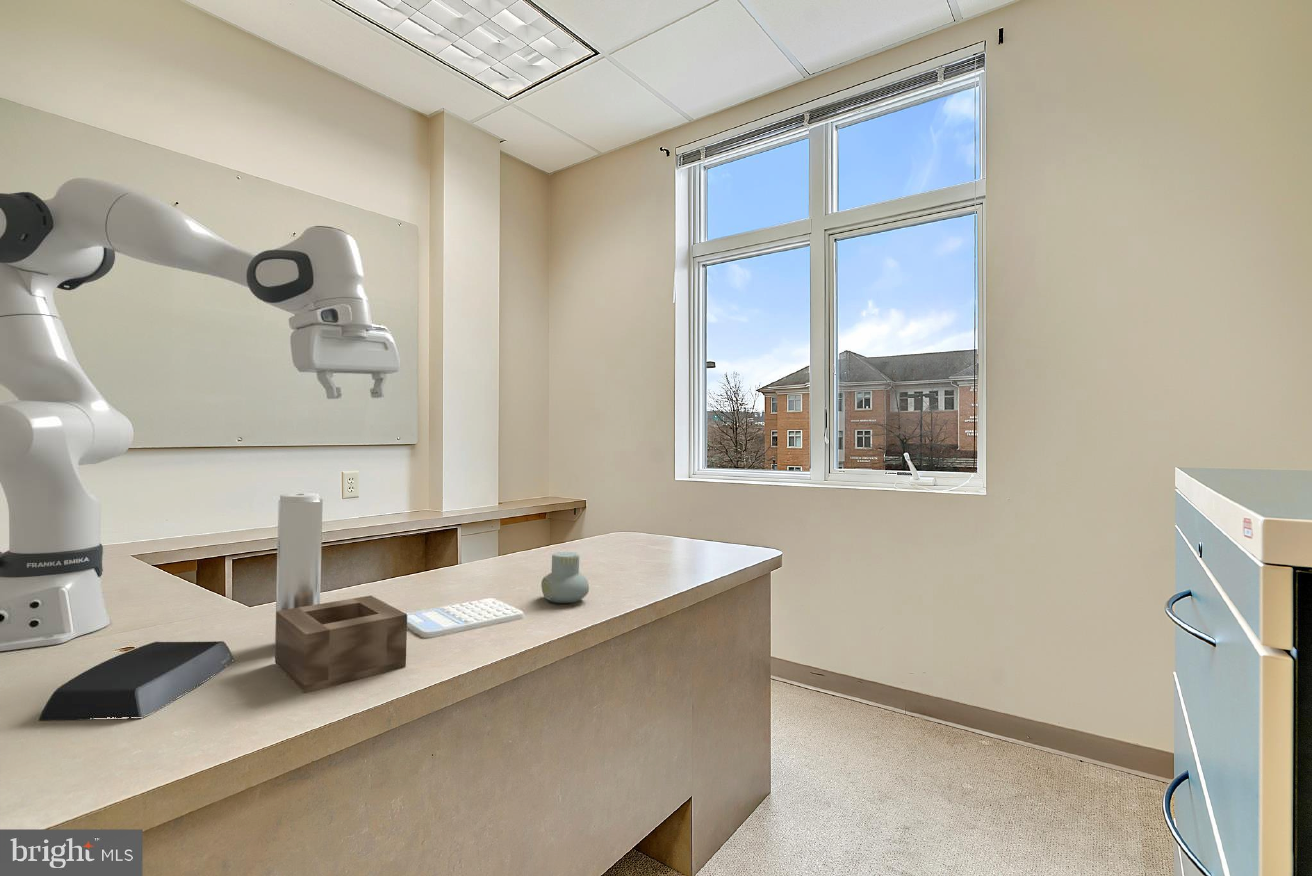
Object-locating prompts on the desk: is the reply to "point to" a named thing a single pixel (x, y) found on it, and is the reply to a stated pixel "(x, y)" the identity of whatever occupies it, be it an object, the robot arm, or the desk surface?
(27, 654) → the desk surface
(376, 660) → the socket block
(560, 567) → the air freshener
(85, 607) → the robot arm
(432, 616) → the calculator
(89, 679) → the external hard drive
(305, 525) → the tall grey cylinder
